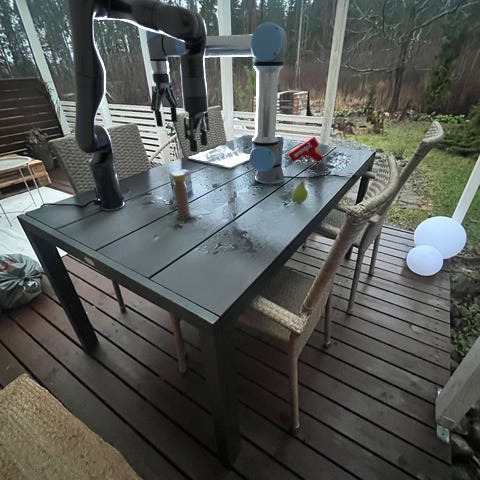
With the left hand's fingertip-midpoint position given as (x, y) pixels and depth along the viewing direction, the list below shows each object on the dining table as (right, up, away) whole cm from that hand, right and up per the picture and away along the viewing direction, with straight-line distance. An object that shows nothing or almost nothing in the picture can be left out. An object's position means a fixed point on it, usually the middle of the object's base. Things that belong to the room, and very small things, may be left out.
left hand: (199, 148), depth 92 cm
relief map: (+2, +23, +87) cm, 90 cm away
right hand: (-22, +26, +40) cm, 52 cm away
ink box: (-13, -11, +36) cm, 40 cm away
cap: (-9, -7, +9) cm, 14 cm away
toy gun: (+55, +19, +80) cm, 99 cm away
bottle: (-9, -22, +19) cm, 30 cm away
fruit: (+40, -14, +30) cm, 52 cm away
